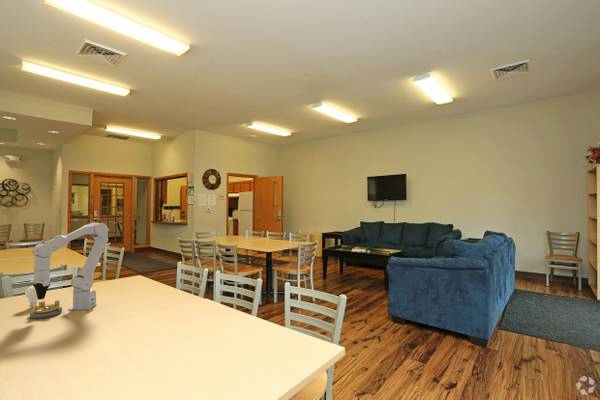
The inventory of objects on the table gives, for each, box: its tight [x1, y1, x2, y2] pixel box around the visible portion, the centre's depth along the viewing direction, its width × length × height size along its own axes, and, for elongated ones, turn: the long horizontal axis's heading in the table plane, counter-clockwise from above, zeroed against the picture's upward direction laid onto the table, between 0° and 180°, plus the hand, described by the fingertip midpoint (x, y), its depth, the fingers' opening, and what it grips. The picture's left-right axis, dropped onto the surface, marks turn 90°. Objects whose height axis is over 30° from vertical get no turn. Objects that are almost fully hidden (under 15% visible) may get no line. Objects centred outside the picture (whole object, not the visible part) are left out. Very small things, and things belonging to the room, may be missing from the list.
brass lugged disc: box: [32, 299, 61, 314], centre depth 147 cm, size 10×10×3 cm
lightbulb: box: [24, 285, 38, 309], centre depth 156 cm, size 6×6×11 cm
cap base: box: [29, 306, 63, 320], centre depth 147 cm, size 12×12×2 cm
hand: (41, 299), depth 142 cm, fingers closed
